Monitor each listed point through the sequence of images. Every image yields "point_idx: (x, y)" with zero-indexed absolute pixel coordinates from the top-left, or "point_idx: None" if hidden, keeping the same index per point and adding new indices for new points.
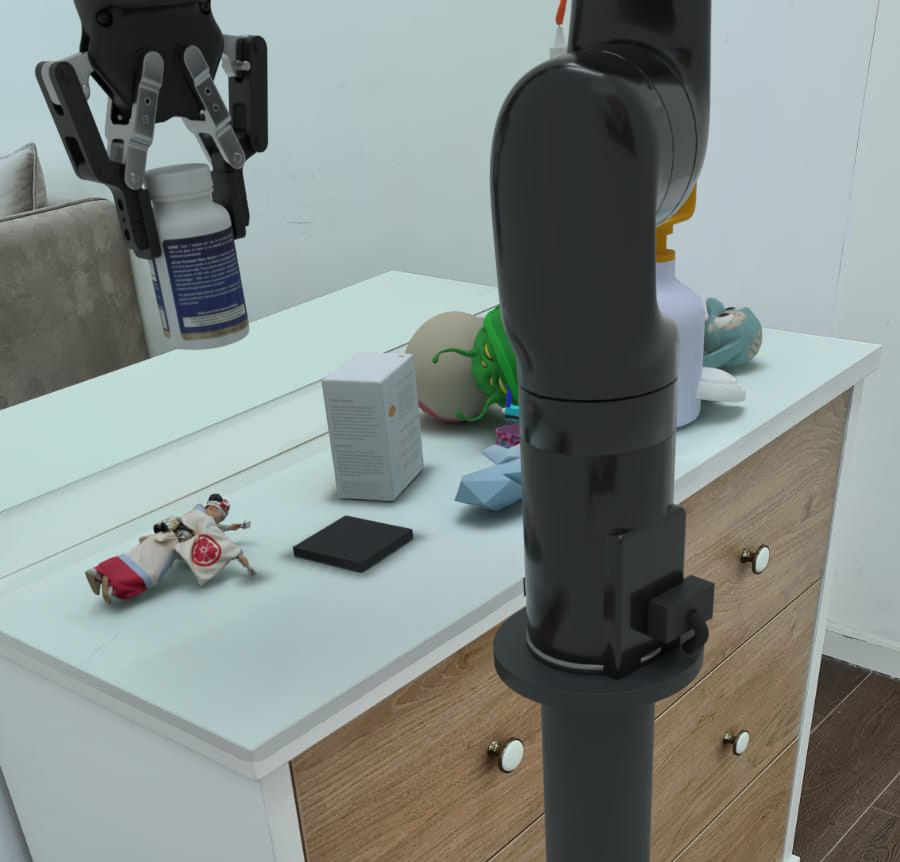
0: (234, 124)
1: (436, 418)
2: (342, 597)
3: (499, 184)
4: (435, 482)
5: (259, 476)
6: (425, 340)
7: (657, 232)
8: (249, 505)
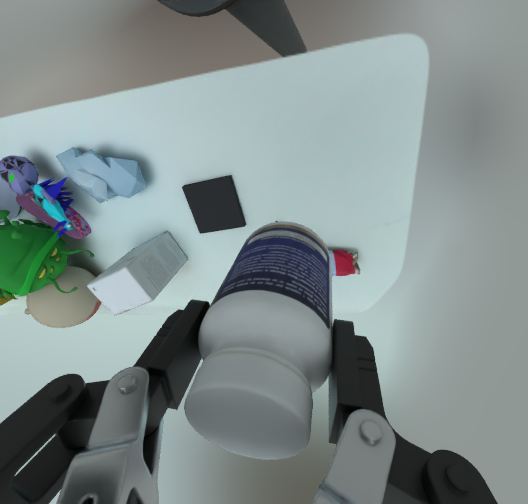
0: (70, 461)
1: None
2: (258, 158)
3: None
4: (137, 231)
5: None
6: (67, 311)
7: None
8: None
